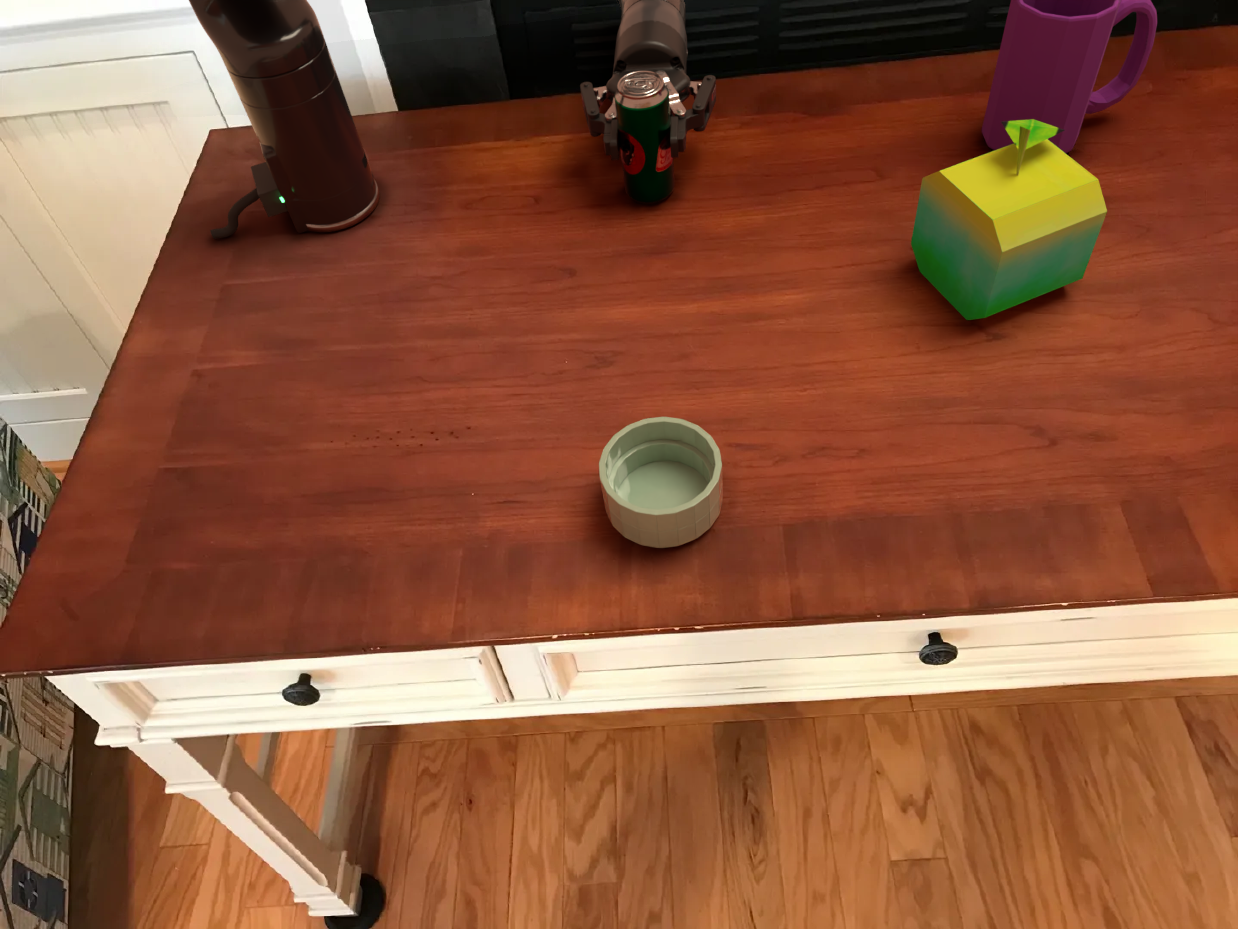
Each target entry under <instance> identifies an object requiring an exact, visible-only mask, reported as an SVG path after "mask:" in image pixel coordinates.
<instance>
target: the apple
mask: <svg viewBox="0 0 1238 929" xmlns="http://www.w3.org/2000/svg"><path fill="white" fill-rule="evenodd" d="M1001 123H1002V124H1003V126H1004V128H1005V129H1006V131H1007V133H1008V134H1009V136H1010V137H1011V139H1012V141H1013V142H1014V144H1011V145H1008V146H1006V147H1003V148H1000V149H997V150H995V151H994V150H992V151H988V152H986V153H984V154H981V155H979V156H976V157H974V158H973V157H972V158H969V159H968V160H967V159H966V160H965V161H962V162H959V163H957V164H954V165H952V166H949V167H946V168H943V169H940V170H938V171H935V172H933V173H931V174H929V175H926V176H924V177H922V179H921V184H920V189H919V196H918V201H917V207H916V212H915V218H914V222H913V229H912V234H911V235H912V236H911V241H910V246H911V248H912V249H911V250H912V252H913V256H914V258H915V261H916V264H917V267H918V272H919V273H921V275H922V276H923V277H924V278H925V279H926V280H927V281H928V282H929V283H930V284H931V285H932V286H933V287H934V288H935V289H936V290H937V292H939V294H940V295H941V296H943V297H944V298H945V299H946V300H947V302H948V303H949V304H950V305H951V306H952V307H953V308H954V309H955V310H956V311H957V312H958V313H959V314H960V315H961V316H962V317H963V318H964V319H965V320H966V321H972V320H979V319H986V318H988V317H991V316H993V315H995V314H998V313H1001V312H1003V311H1005V310H1009V309H1011V308H1013V307H1016V306H1018V305H1020V304H1024V303H1025V302H1028V301H1030V300H1033V299H1036V298H1038V297H1040V296H1043V295H1045V294H1048V293H1050V292H1053V291H1055V290H1059V289H1060V288H1063V287H1065V286H1068V285H1071V284H1073V283H1075V282H1078V281H1080V280H1082V279H1084V275H1085V273H1086V270H1087V268H1088V265H1089V262H1090V259H1091V257H1092V254H1093V251H1094V249H1095V246H1096V244H1097V241H1098V239H1099V235H1100V232H1101V229H1102V227H1103V225H1104V221H1105V219H1106V216H1107V215H1108V214H1107V213H1108V209H1107V205H1106V202H1105V198H1104V195H1103V190H1102V187H1101V184H1100V181H1099V178H1097V177H1096V176H1095V175H1093V173H1091V172H1090V171H1088V170H1087V169H1086V168H1085V167H1083V166H1082V165H1081V164H1079V163H1078V162H1077V161H1076V160H1074V158H1072V157H1070V156H1069V155H1068V154H1067V153H1064V152H1063V151H1062V150H1060V149H1059V148H1058V147H1057V146H1055V145H1054V144H1053V143H1052V142H1050V141H1049V140H1048V138H1050V137H1052V136H1054V135H1056V134H1058V133H1060V132H1062V131H1065V130H1064V129H1061V128H1058V127H1055V126H1052V125H1049V124H1046V123H1043V122H1040V121H1037V120H1034V119H1030V120H1016V121H1002V122H1001Z"/></svg>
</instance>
